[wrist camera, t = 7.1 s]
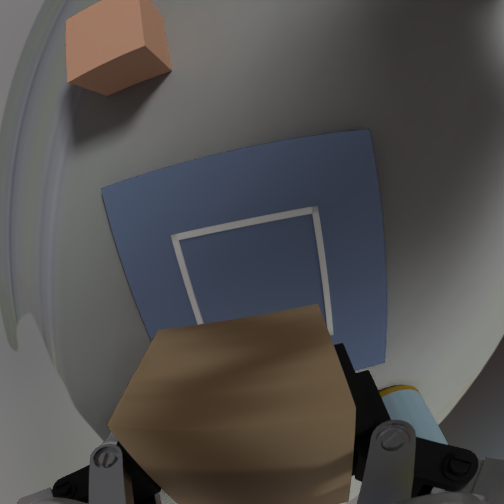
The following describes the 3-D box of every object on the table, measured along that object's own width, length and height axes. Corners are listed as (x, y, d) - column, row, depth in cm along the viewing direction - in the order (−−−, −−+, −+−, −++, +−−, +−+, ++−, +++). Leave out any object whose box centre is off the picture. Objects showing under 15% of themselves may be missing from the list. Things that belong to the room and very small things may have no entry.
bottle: (363, 435, 25) (394, 548, 11) (345, 403, 23) (381, 544, 9) (421, 406, 24) (471, 512, 9) (412, 369, 22) (480, 496, 8)
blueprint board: (366, 129, 16) (370, 128, 16) (382, 358, 22) (385, 363, 21) (105, 187, 18) (99, 188, 17) (178, 390, 23) (176, 396, 22)
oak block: (317, 303, 10) (356, 407, 5) (328, 412, 12) (348, 501, 7) (158, 329, 10) (106, 425, 6) (204, 428, 12) (188, 513, 7)
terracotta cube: (162, 16, 14) (137, -16, 10) (172, 71, 16) (144, 45, 11) (101, 42, 15) (66, 20, 10) (107, 96, 16) (67, 82, 11)
